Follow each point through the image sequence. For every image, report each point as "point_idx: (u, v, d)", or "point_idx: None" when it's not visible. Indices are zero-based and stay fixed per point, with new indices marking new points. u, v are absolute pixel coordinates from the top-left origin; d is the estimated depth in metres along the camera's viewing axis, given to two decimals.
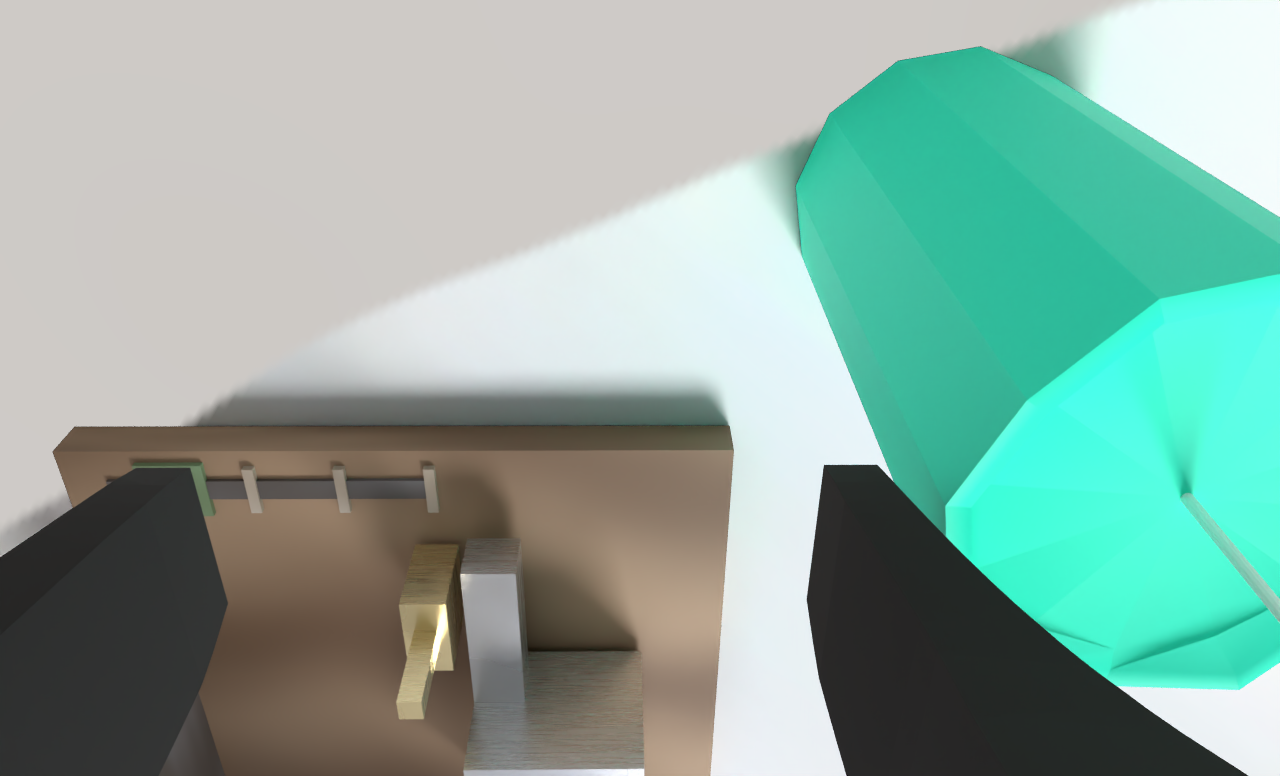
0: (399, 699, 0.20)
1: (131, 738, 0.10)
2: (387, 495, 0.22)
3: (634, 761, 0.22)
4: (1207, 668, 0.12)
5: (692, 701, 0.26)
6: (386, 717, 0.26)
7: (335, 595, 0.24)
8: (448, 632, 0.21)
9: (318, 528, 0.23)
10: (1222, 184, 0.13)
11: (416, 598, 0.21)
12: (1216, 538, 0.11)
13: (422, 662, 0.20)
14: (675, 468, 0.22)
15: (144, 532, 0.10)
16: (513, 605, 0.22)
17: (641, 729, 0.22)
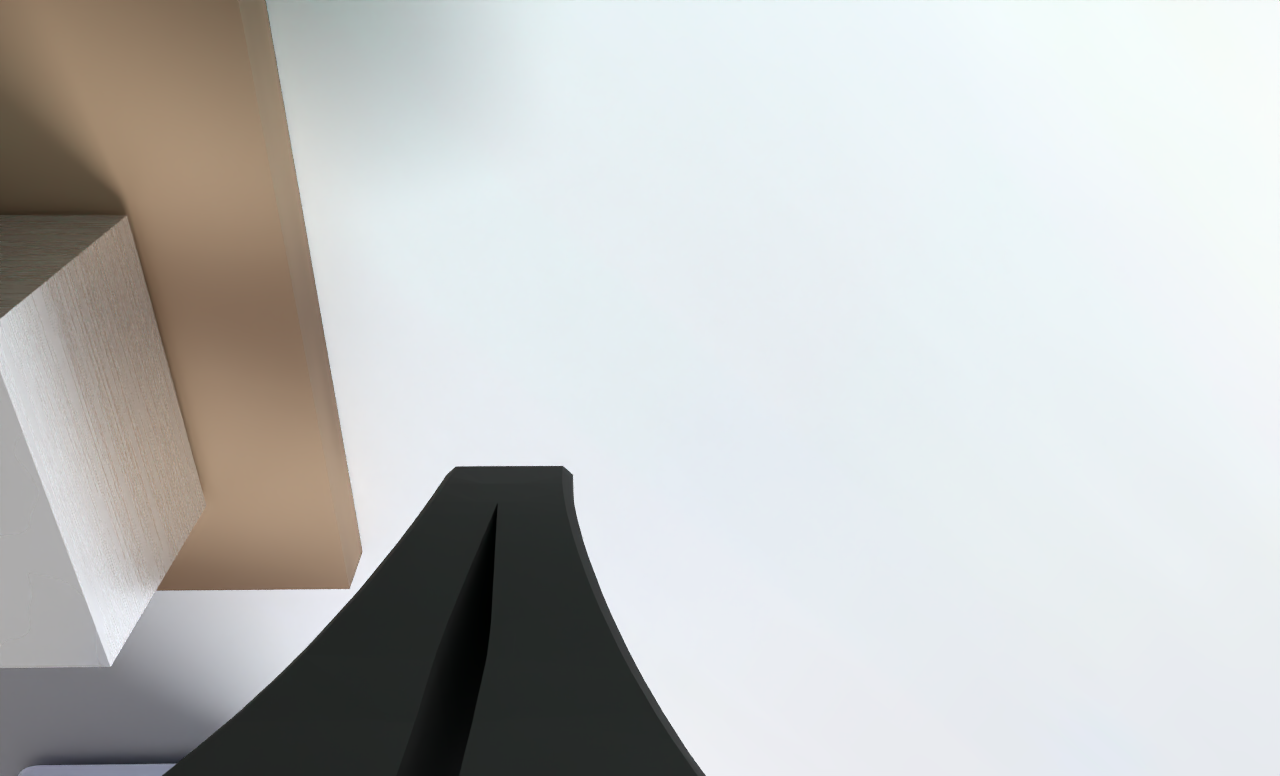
0: None
1: None
2: None
3: None
4: None
5: (261, 342, 0.15)
6: None
7: None
8: None
9: None
10: None
11: None
12: None
13: None
14: None
15: None
16: None
17: (31, 288, 0.11)
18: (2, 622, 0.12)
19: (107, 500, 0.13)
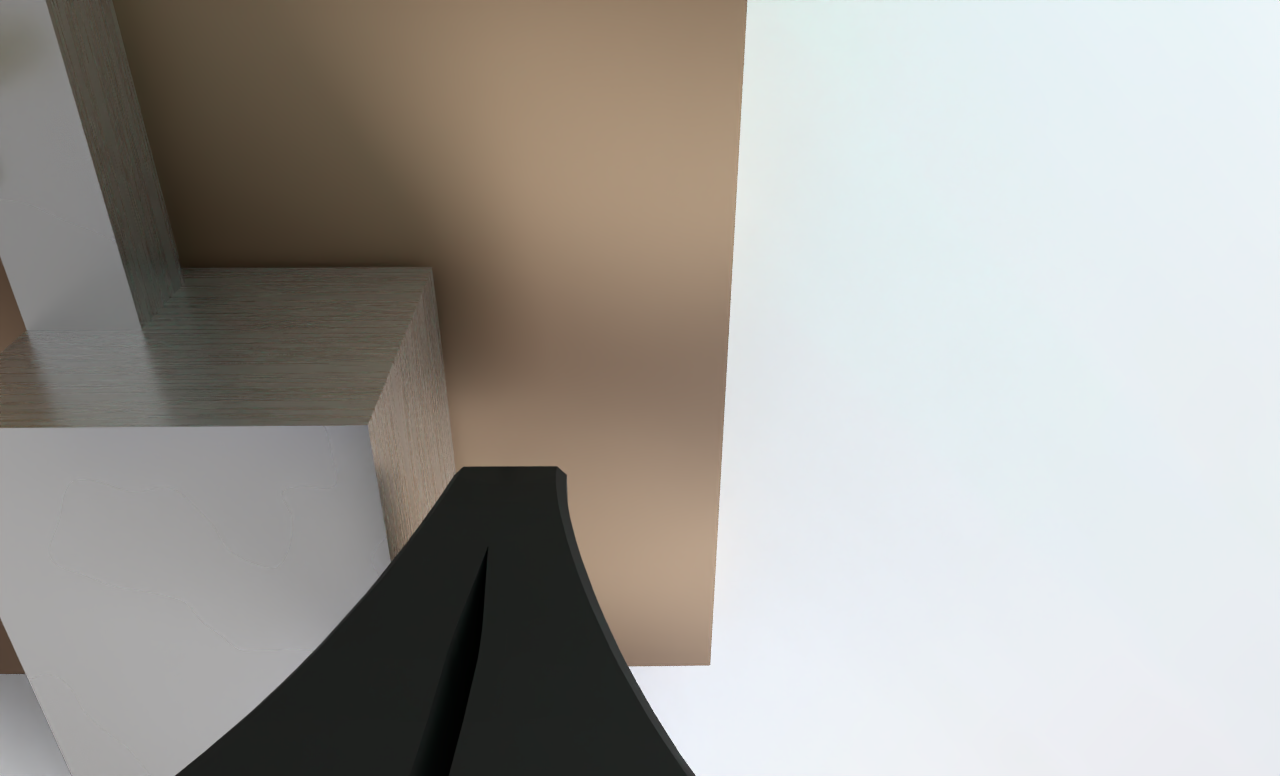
0: None
1: None
2: None
3: (348, 414, 0.09)
4: None
5: (678, 403, 0.13)
6: None
7: None
8: None
9: None
10: None
11: None
12: None
13: None
14: None
15: None
16: (38, 20, 0.09)
17: (386, 365, 0.10)
18: None
19: None
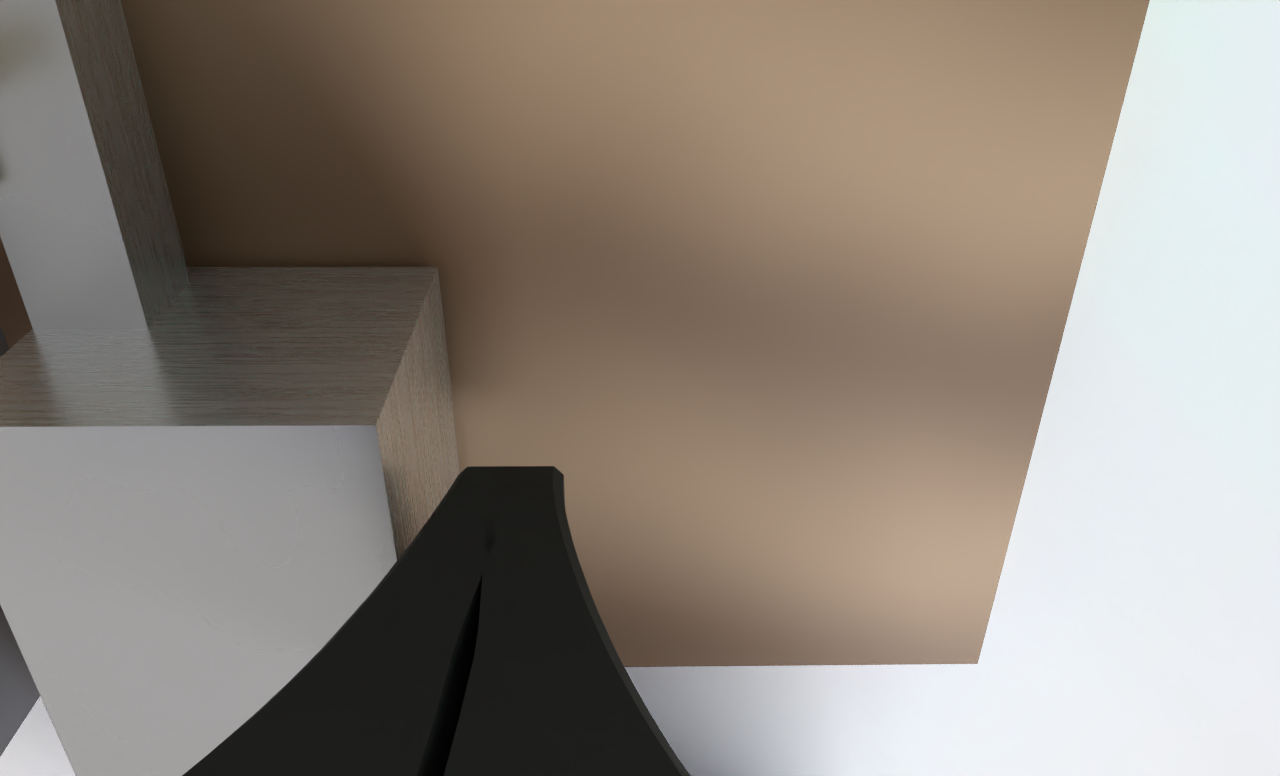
0: None
1: None
2: None
3: (356, 414, 0.09)
4: None
5: (999, 402, 0.13)
6: None
7: (287, 118, 0.11)
8: None
9: None
10: None
11: None
12: None
13: None
14: None
15: None
16: (47, 19, 0.09)
17: (393, 365, 0.10)
18: None
19: None
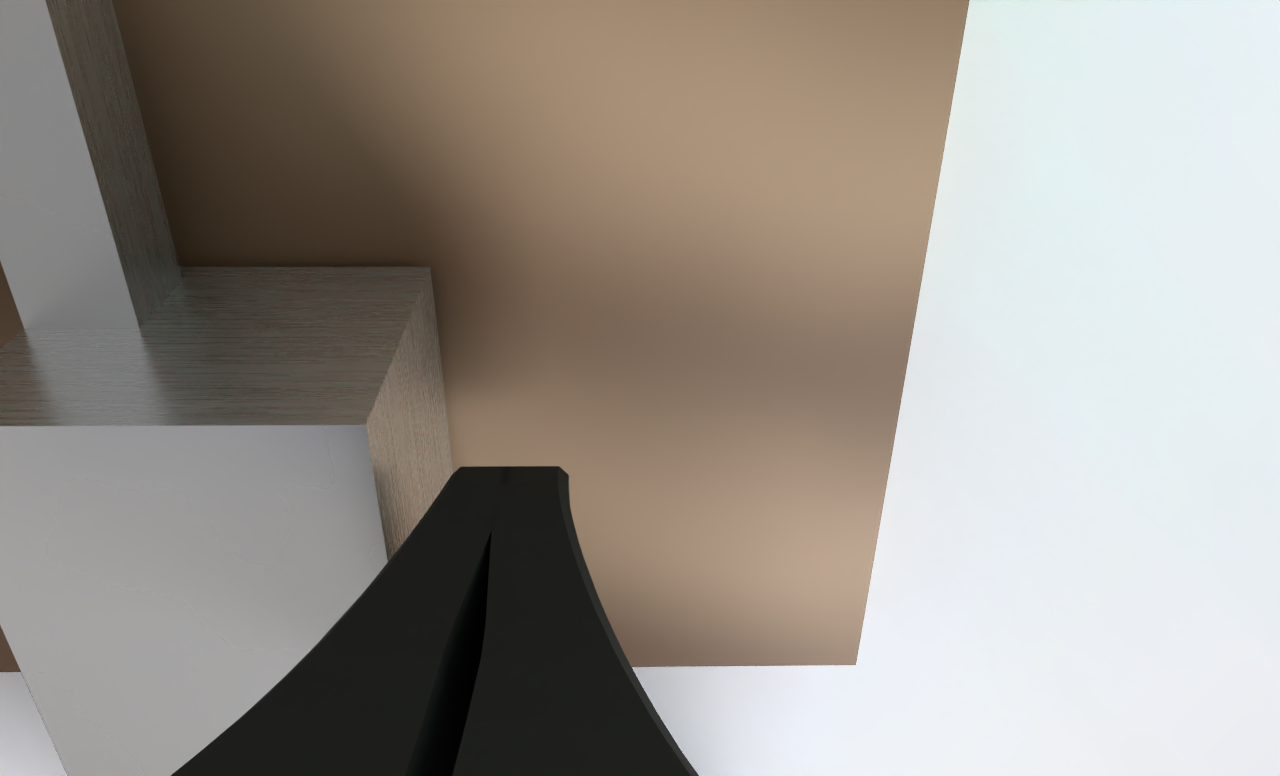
0: None
1: None
2: None
3: (347, 414, 0.09)
4: None
5: (854, 403, 0.13)
6: None
7: None
8: None
9: None
10: None
11: None
12: None
13: None
14: None
15: None
16: (37, 18, 0.09)
17: (384, 365, 0.10)
18: None
19: None
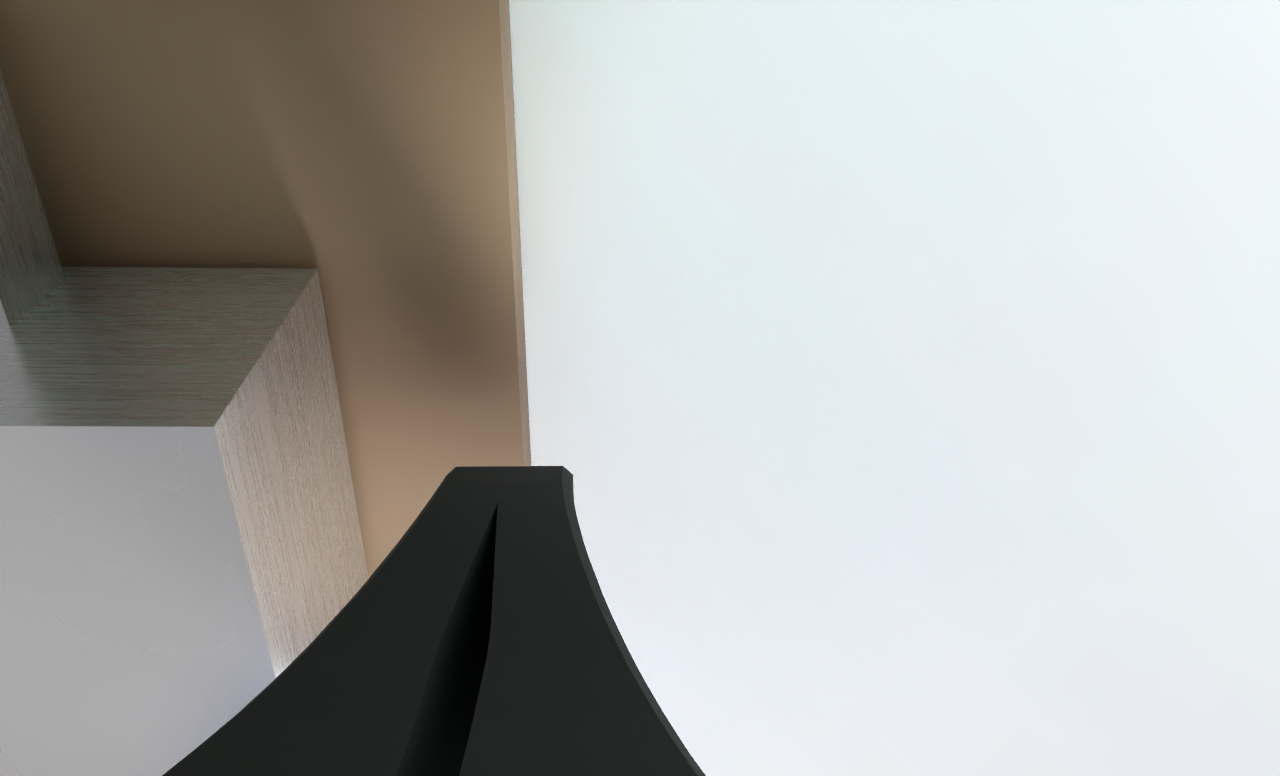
0: None
1: None
2: None
3: (197, 415, 0.09)
4: None
5: (473, 407, 0.13)
6: None
7: None
8: None
9: None
10: None
11: None
12: None
13: None
14: None
15: None
16: None
17: (247, 367, 0.10)
18: (185, 742, 0.11)
19: (302, 599, 0.11)
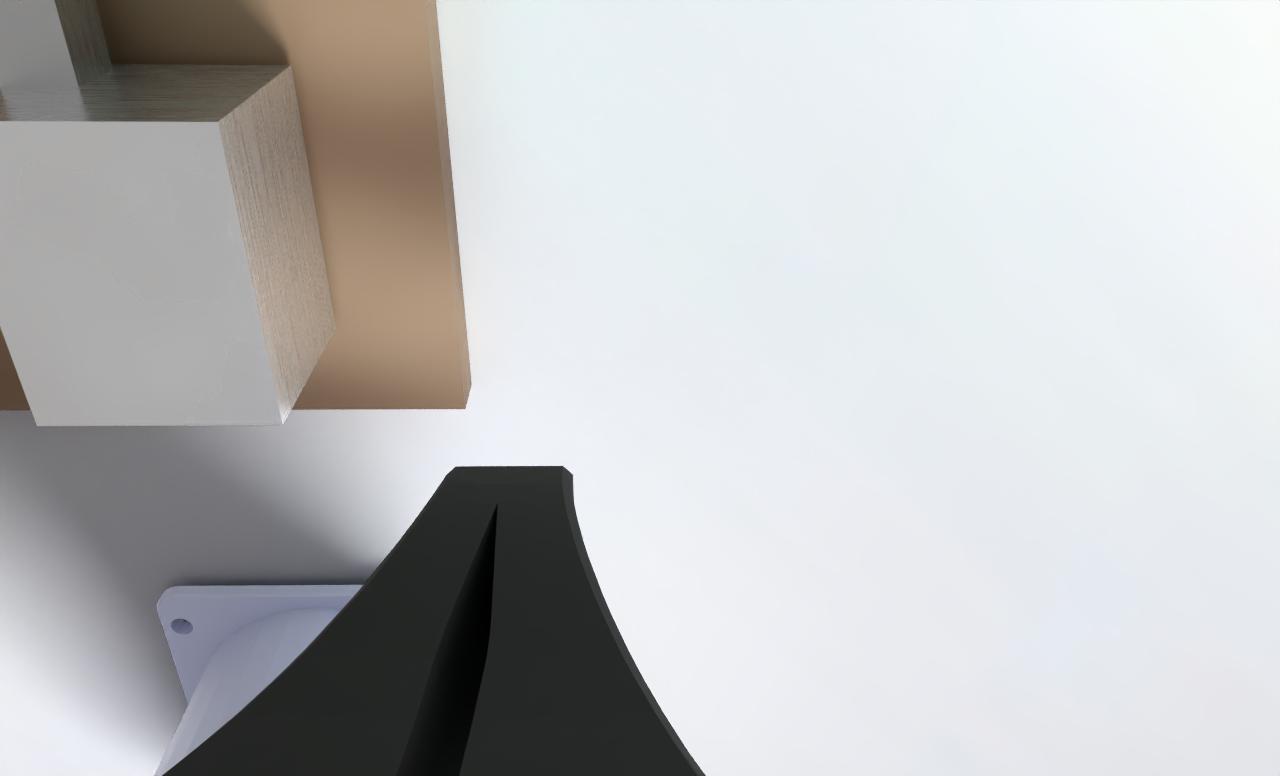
0: None
1: None
2: None
3: (207, 117, 0.14)
4: None
5: (408, 180, 0.18)
6: None
7: None
8: None
9: None
10: None
11: None
12: None
13: None
14: None
15: None
16: None
17: (240, 101, 0.14)
18: (200, 383, 0.16)
19: (280, 291, 0.16)
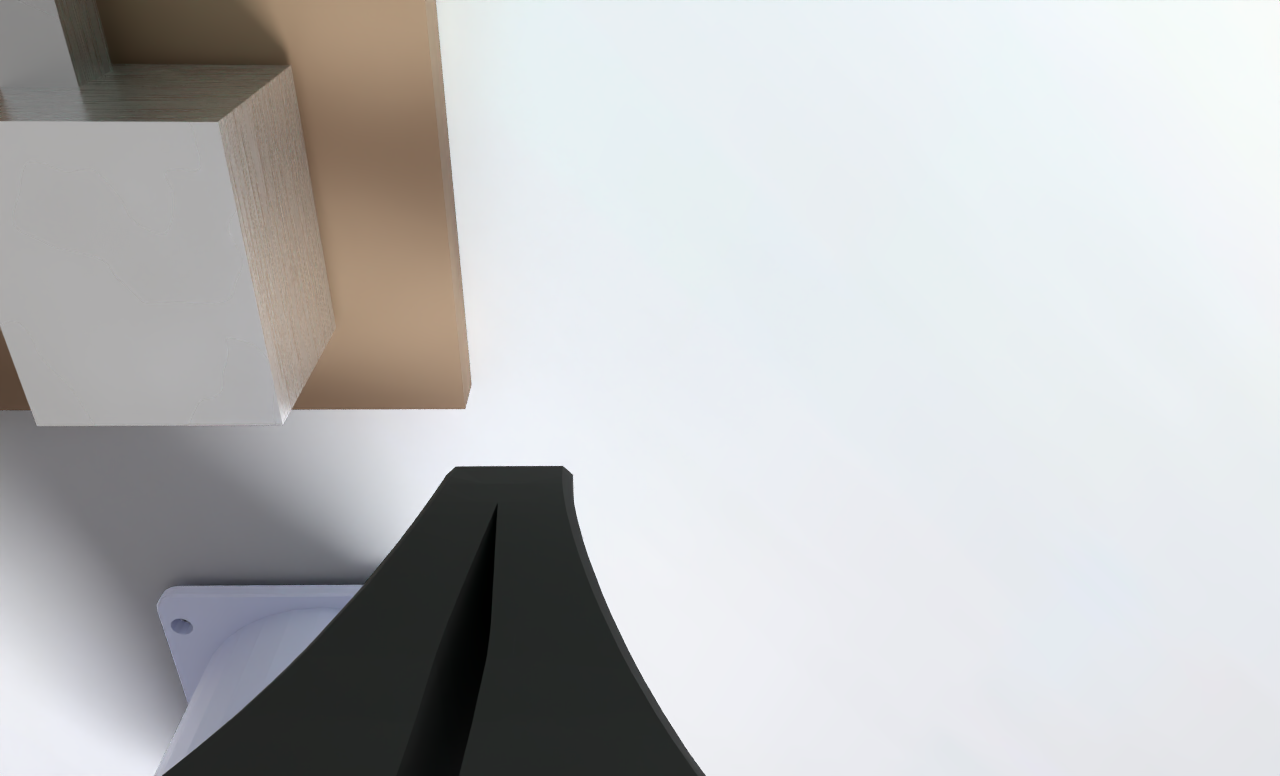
0: None
1: None
2: None
3: (207, 117, 0.14)
4: None
5: (408, 180, 0.18)
6: None
7: None
8: None
9: None
10: None
11: None
12: None
13: None
14: None
15: None
16: None
17: (240, 101, 0.14)
18: (200, 383, 0.16)
19: (280, 291, 0.16)
